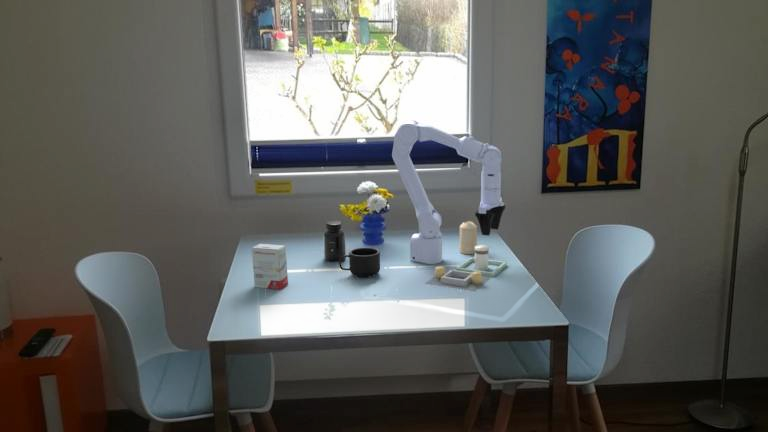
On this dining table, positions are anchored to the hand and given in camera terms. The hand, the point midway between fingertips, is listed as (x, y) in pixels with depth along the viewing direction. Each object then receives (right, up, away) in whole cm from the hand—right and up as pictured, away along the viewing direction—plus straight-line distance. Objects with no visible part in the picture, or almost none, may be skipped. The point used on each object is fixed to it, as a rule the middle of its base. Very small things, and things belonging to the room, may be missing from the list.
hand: (490, 231), depth 213 cm
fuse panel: (-11, -14, -14) cm, 23 cm away
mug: (-39, -13, -4) cm, 41 cm away
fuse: (-3, -11, -4) cm, 12 cm away
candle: (-5, -7, +16) cm, 18 cm away
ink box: (-64, -15, -12) cm, 67 cm away
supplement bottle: (-47, -9, +11) cm, 50 cm away
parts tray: (-3, -12, -3) cm, 13 cm away
